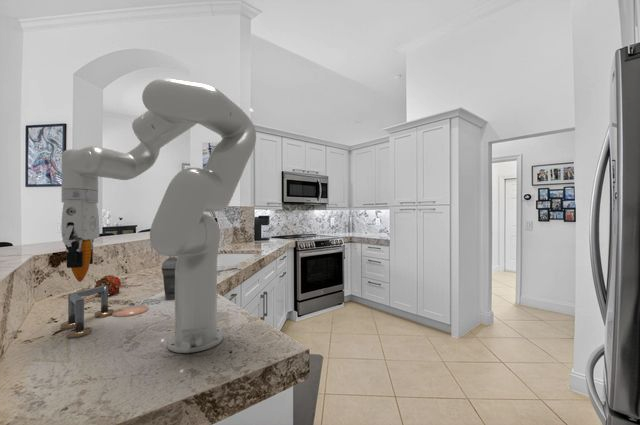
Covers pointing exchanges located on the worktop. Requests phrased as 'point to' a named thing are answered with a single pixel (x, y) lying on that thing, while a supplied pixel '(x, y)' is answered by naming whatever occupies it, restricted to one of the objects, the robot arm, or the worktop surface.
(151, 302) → the worktop surface
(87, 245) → the carrot
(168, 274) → the beverage cup
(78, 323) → the grey cabinet handle
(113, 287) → the dragon fruit
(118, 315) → the terracotta coaster
